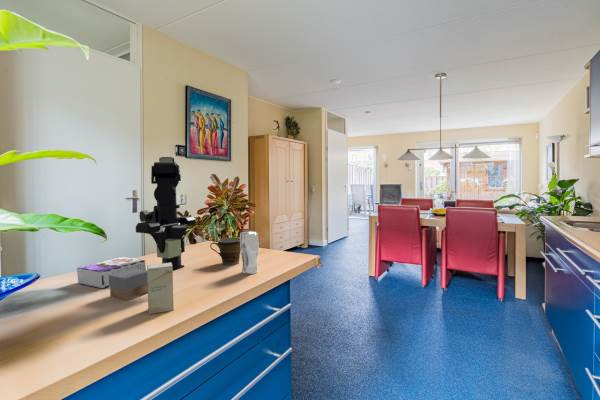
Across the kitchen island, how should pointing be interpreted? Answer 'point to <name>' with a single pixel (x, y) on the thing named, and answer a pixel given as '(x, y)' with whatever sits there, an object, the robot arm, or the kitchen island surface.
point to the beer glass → (249, 251)
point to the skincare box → (160, 287)
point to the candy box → (106, 270)
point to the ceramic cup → (229, 250)
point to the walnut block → (129, 292)
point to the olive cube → (170, 248)
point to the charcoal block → (128, 279)
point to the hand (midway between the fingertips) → (169, 251)
